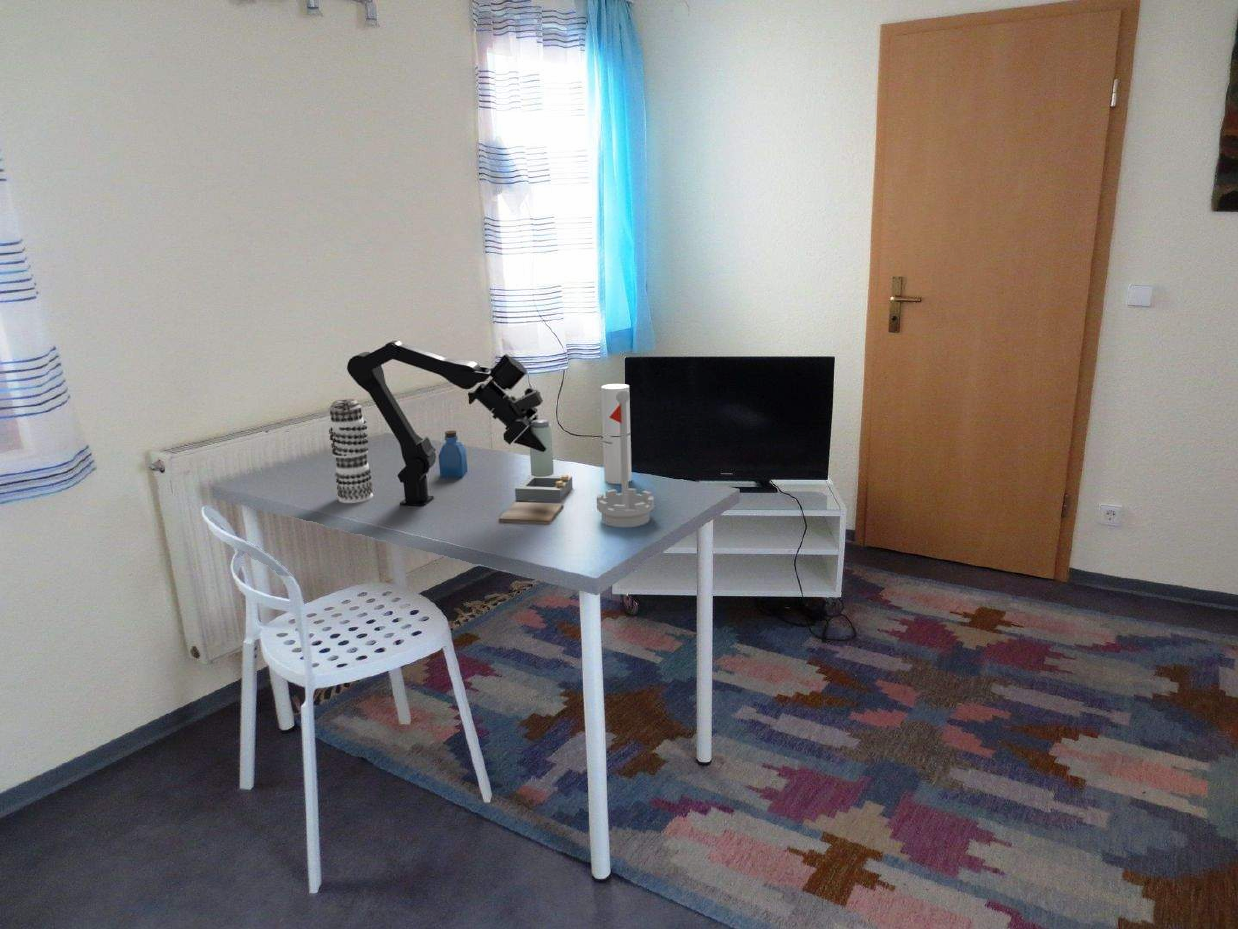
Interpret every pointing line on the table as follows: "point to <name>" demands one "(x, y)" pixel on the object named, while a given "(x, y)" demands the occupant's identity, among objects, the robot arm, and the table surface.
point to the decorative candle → (350, 451)
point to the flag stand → (624, 484)
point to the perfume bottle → (452, 457)
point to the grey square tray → (544, 488)
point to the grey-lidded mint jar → (542, 460)
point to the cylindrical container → (614, 434)
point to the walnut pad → (531, 512)
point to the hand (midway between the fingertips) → (546, 447)
